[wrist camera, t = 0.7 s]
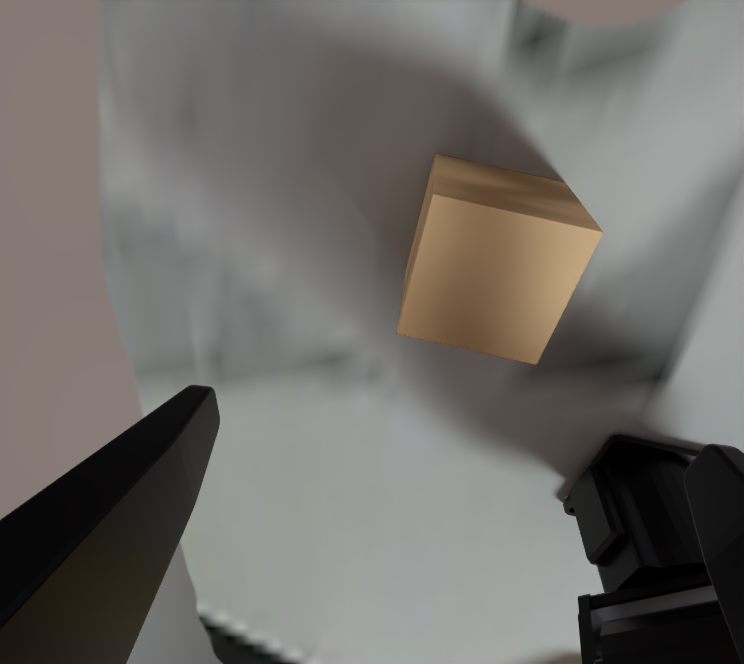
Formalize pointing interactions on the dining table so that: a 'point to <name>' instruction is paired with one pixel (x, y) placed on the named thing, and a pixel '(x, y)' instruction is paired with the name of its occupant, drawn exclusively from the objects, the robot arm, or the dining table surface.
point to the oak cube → (494, 259)
